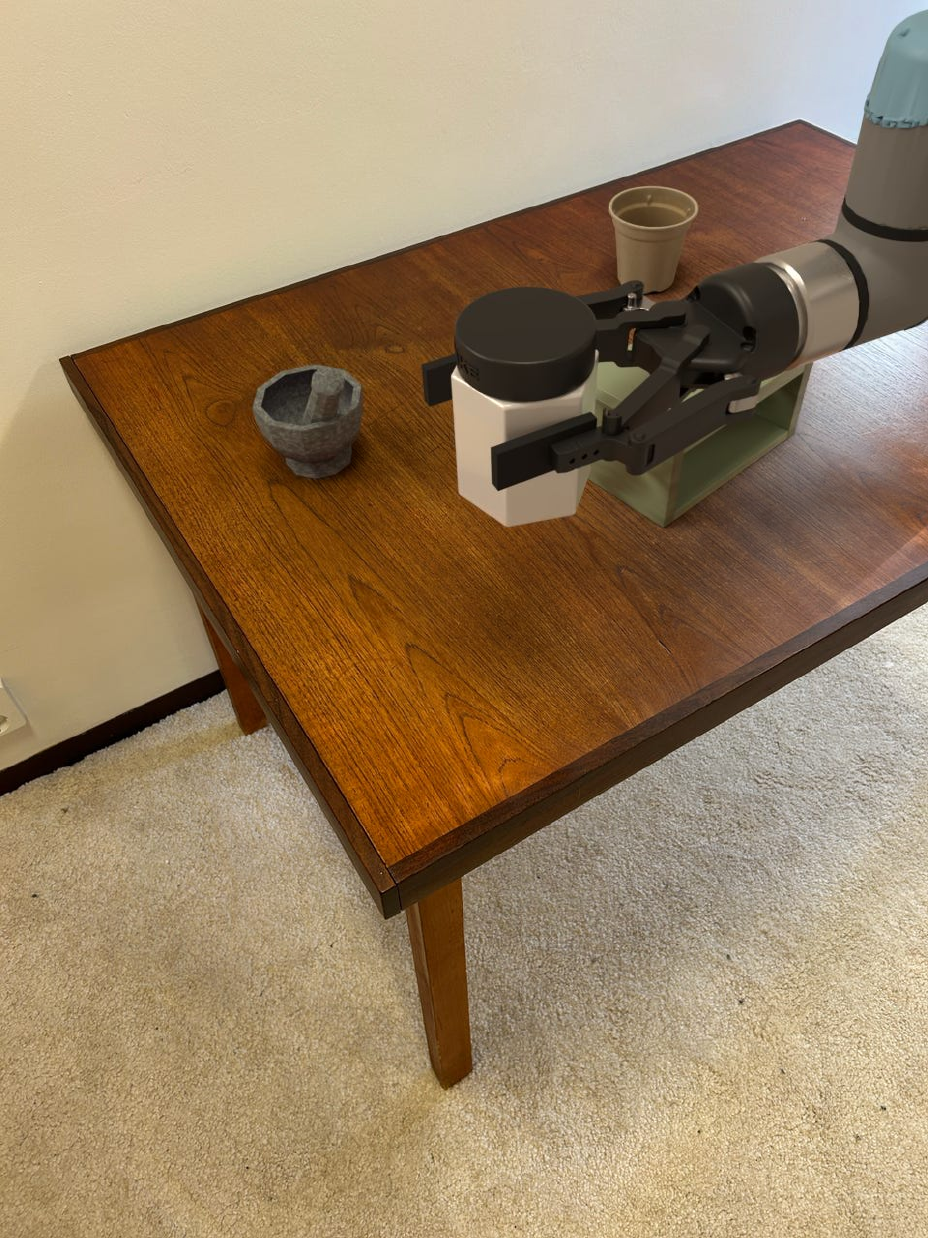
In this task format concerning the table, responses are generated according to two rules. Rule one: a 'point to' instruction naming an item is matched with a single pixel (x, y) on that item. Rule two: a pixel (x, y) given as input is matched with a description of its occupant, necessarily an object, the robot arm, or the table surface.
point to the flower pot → (650, 233)
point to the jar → (521, 393)
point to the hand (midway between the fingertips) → (458, 425)
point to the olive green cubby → (697, 445)
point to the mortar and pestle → (311, 417)
